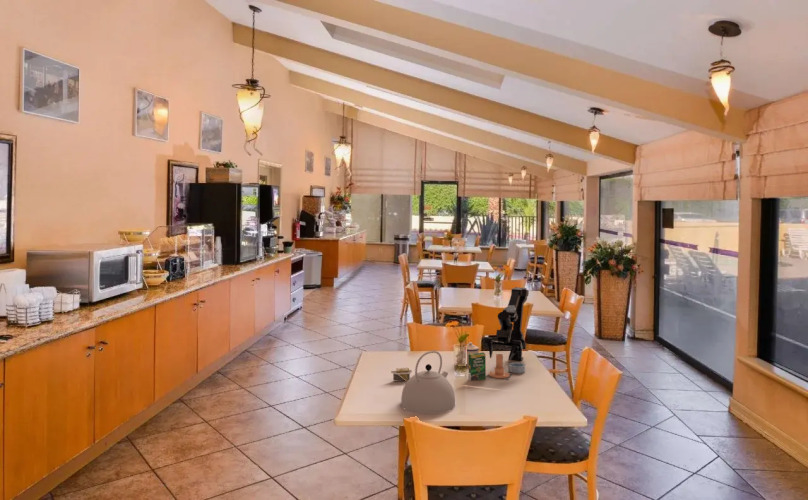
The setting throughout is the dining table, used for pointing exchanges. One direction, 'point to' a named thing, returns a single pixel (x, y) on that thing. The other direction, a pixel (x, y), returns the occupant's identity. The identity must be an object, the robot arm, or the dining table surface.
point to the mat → (497, 378)
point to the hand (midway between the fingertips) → (499, 358)
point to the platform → (401, 374)
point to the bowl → (516, 367)
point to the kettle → (428, 391)
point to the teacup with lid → (471, 350)
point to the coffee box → (477, 366)
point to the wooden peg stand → (499, 369)
